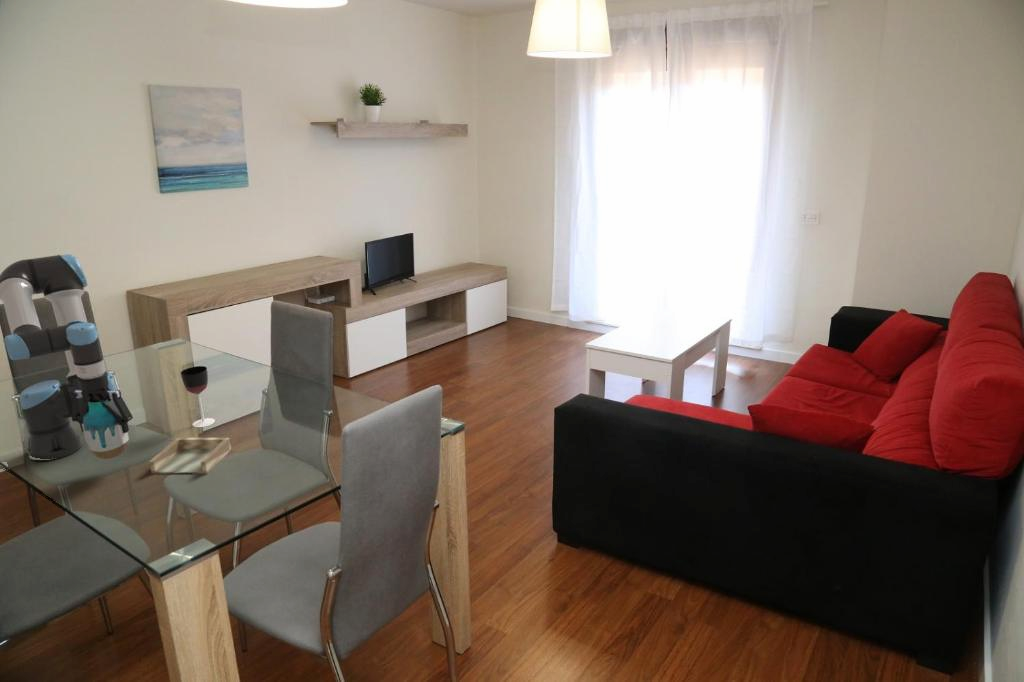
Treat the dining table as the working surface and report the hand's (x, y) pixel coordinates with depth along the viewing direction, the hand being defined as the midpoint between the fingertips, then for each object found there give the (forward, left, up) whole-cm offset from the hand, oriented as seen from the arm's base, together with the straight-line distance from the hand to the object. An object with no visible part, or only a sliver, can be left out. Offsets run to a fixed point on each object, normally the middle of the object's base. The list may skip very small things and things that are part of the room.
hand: (107, 441), depth 213 cm
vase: (0, 0, -5) cm, 5 cm away
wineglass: (+10, +36, -11) cm, 39 cm away
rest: (+21, +7, -10) cm, 25 cm away
